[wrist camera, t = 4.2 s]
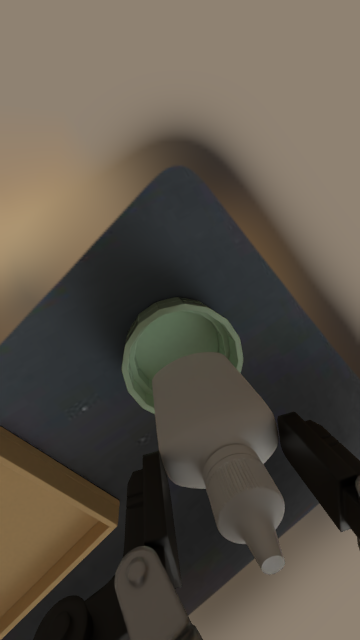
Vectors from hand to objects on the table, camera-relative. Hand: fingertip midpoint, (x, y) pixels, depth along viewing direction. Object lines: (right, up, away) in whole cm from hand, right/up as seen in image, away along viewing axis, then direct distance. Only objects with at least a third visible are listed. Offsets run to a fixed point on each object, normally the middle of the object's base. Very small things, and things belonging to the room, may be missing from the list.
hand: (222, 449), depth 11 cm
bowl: (-2, +3, +14) cm, 15 cm away
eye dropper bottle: (-1, +2, +7) cm, 8 cm away
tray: (-22, -18, +16) cm, 32 cm away
